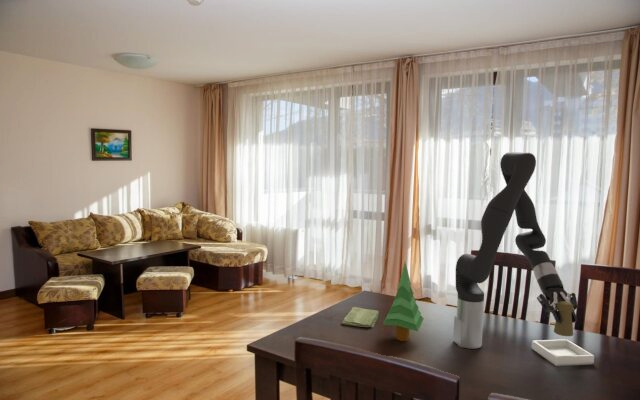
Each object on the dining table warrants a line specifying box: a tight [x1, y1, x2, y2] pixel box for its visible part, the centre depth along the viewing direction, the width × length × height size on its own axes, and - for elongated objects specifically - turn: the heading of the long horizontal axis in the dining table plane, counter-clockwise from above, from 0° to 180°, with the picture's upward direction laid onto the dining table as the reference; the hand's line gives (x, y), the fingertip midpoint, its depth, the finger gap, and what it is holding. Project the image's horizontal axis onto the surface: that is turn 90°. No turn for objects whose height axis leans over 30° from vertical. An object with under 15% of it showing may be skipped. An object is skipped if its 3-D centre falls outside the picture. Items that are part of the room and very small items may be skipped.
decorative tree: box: [382, 261, 424, 342], centre depth 166 cm, size 14×16×30 cm
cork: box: [553, 301, 574, 337], centre depth 153 cm, size 6×6×11 cm
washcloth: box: [341, 306, 380, 329], centre depth 186 cm, size 13×18×3 cm
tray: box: [531, 338, 595, 367], centre depth 154 cm, size 14×14×3 cm
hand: (567, 321), depth 152 cm, fingers closed on cork, 4 cm apart
